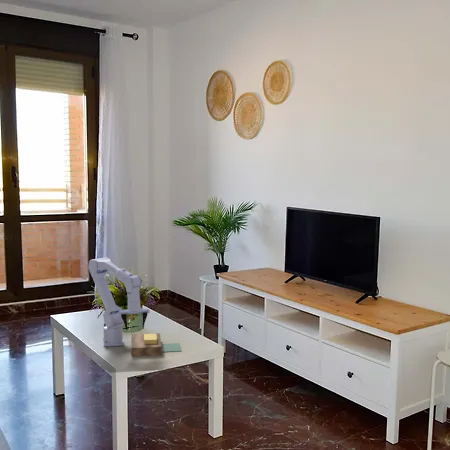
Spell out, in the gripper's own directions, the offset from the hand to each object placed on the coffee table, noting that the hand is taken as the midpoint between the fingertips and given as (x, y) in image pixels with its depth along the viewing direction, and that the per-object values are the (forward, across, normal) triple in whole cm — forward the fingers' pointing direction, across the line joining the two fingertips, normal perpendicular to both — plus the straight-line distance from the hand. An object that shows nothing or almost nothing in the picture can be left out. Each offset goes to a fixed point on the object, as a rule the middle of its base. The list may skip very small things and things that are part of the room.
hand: (134, 328), depth 244 cm
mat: (+11, +17, +1) cm, 20 cm away
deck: (+10, +5, +2) cm, 12 cm away
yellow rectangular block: (+7, +7, +1) cm, 10 cm away
